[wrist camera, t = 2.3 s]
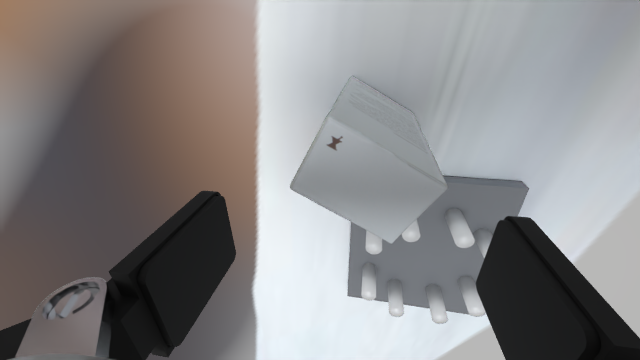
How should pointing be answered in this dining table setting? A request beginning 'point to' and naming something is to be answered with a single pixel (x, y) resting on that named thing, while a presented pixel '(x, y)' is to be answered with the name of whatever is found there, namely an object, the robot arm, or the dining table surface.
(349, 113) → the skincare box
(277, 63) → the dining table surface
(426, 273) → the peg board
